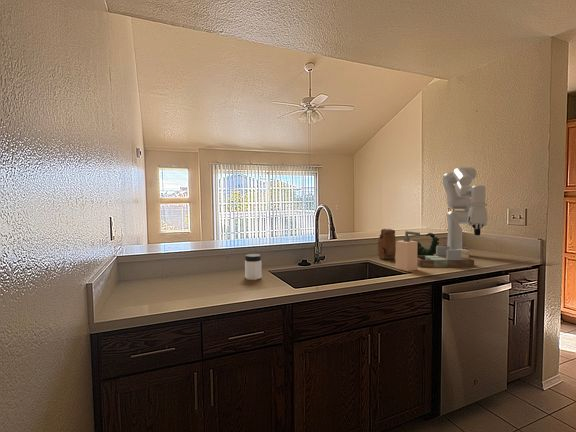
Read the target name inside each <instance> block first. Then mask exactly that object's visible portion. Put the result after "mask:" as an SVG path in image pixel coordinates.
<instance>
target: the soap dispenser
mask: <svg viewBox="0 0 576 432" xmlns="http://www.w3.org/2000/svg"><path fill="white" fill-rule="evenodd" d="M404 233H405V235H404V236H403V237H402V238H403V239H402V240H396V245H395V247H396V252H395V266H394V267H395V269H396V270H402V271H405V272H410V271H411V272H412V271H416V270H418V266H417V246H418V242H419V241H418V242H417V240H411V237H410V236H409V235H412V236H421V232H417V231H416V232H415V231H408V230H407V231H406V230H405V232H404Z"/></svg>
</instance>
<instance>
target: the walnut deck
mask: <svg viewBox="0 0 576 432" xmlns="http://www.w3.org/2000/svg"><path fill="white" fill-rule="evenodd" d="M417 267H419V268H431V267H432V268H435V267H436V268H442V267H443V268H445V267H446V268H448V267H452V268H455V267H459V268H460V267H462V268H463V267H464V268H465V267H475V259H473V258H470V257H469V258H461V260H446V256H436V254H434V256H417Z"/></svg>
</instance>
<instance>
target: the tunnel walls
mask: <svg viewBox="0 0 576 432" xmlns="http://www.w3.org/2000/svg"><path fill="white" fill-rule="evenodd" d="M435 255H436V256H446V260H461V250H450V246H447V245H446V246H445V245H439V246H438V245H437V246H436V254H435Z"/></svg>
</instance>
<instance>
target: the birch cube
mask: <svg viewBox="0 0 576 432" xmlns="http://www.w3.org/2000/svg"><path fill="white" fill-rule="evenodd" d="M457 250H461V258H470V257H469V256H470V250H469V249H466V248H462V249H457Z"/></svg>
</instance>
